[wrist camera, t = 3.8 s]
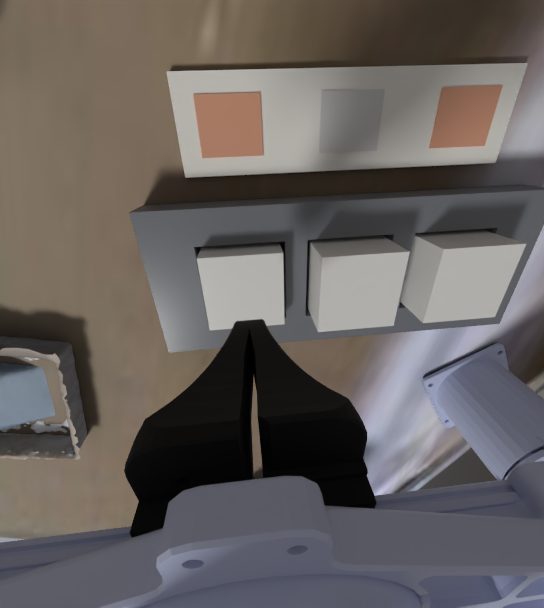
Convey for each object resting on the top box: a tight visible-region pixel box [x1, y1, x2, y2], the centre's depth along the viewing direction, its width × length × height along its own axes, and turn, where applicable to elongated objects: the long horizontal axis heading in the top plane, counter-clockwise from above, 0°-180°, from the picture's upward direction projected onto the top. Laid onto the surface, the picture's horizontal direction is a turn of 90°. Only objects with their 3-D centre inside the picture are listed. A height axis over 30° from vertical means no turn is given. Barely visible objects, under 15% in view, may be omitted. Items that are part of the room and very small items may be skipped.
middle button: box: [307, 235, 410, 332], centre depth 18 cm, size 5×5×4 cm
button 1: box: [400, 229, 526, 323], centre depth 18 cm, size 5×5×4 cm
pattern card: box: [166, 63, 528, 178], centre depth 16 cm, size 20×5×1 cm, turn 92°
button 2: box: [197, 242, 285, 330], centre depth 18 cm, size 5×5×4 cm
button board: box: [129, 185, 544, 352], centre depth 19 cm, size 26×10×2 cm, turn 92°
